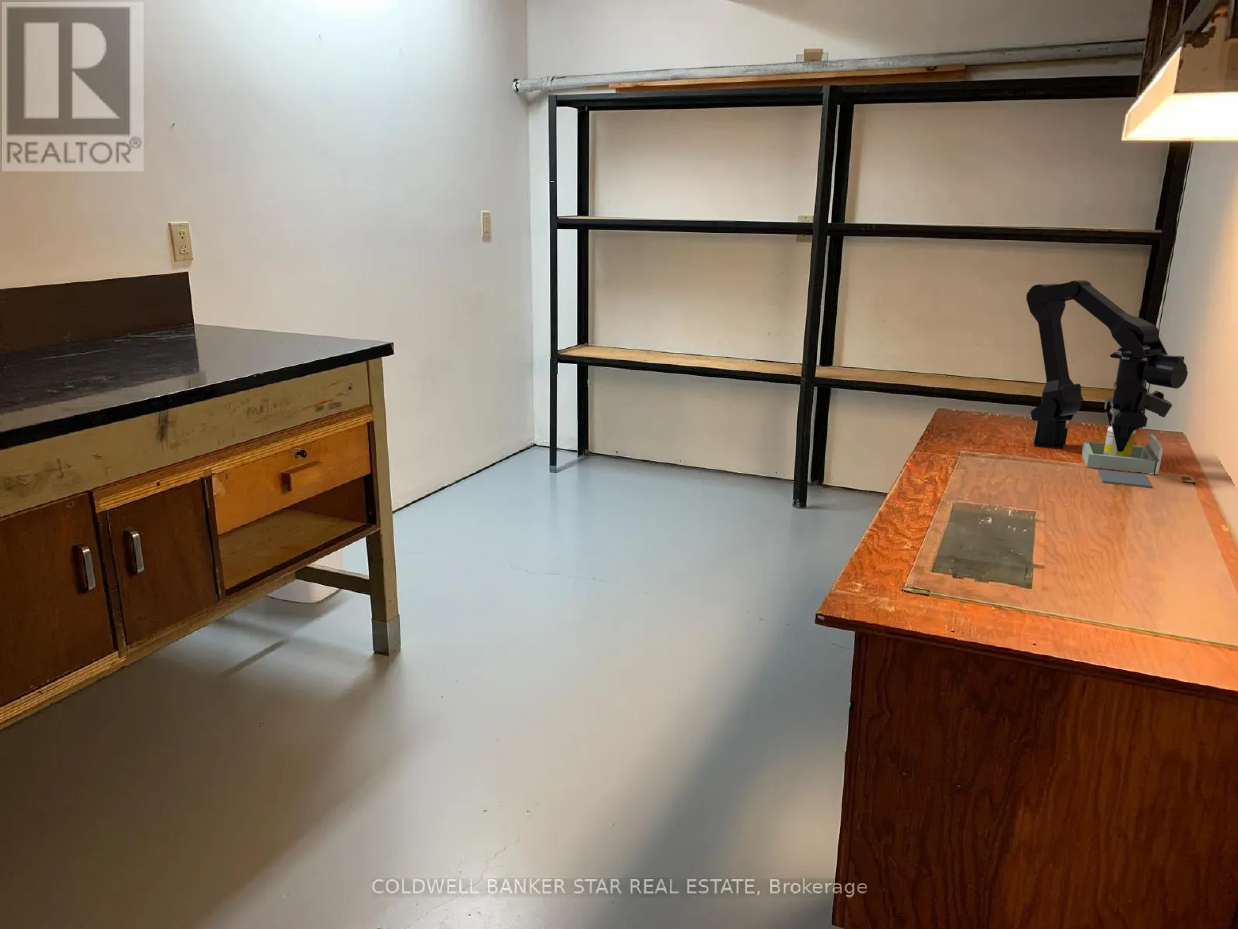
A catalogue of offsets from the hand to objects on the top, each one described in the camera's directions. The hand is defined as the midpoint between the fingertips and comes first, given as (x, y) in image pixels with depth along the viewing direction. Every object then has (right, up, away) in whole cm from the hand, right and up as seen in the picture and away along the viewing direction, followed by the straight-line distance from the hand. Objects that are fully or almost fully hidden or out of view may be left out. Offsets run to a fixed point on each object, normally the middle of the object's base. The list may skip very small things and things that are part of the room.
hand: (1118, 448), depth 194 cm
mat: (-5, -7, -11) cm, 14 cm away
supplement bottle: (0, -4, +1) cm, 4 cm away
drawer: (0, -3, +1) cm, 4 cm away
